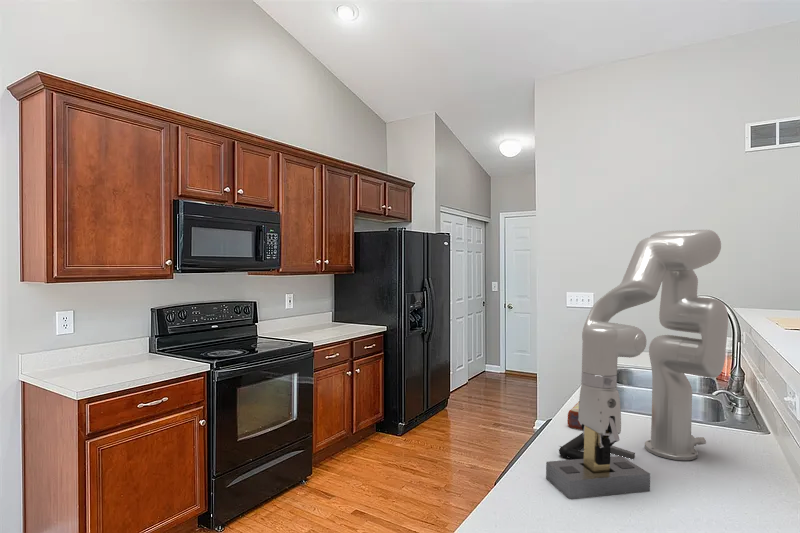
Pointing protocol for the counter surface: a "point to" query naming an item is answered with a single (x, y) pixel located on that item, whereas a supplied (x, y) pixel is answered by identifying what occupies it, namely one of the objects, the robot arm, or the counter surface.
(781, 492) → the counter surface
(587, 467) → the brass peg
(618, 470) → the grey peg hole block
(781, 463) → the counter surface
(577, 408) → the snack package
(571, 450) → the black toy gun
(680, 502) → the counter surface
